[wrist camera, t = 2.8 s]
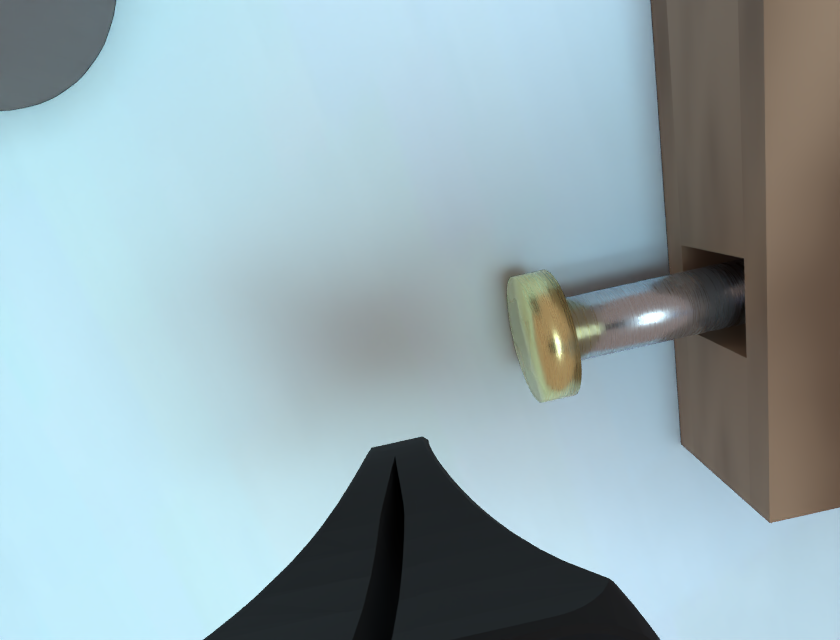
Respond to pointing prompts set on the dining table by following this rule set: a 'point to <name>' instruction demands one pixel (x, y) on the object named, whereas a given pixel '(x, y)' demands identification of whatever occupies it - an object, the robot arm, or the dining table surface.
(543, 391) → the steel pin
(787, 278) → the drawbar beam
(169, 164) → the dining table surface
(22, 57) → the coffee mug
